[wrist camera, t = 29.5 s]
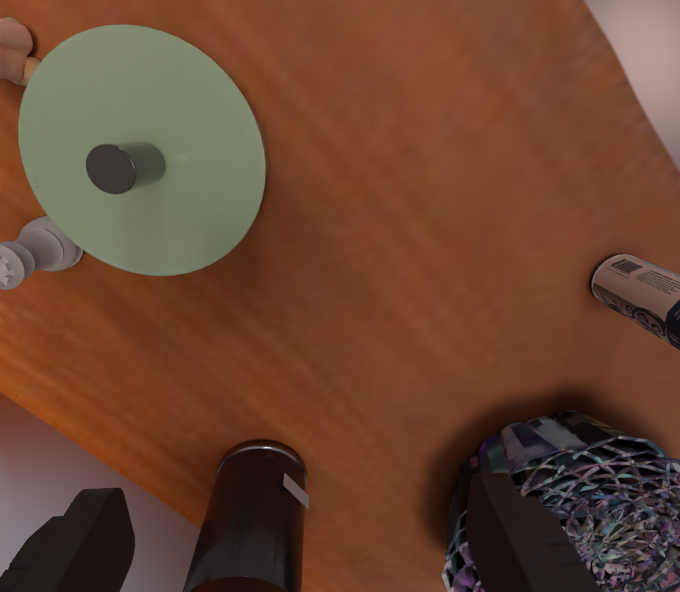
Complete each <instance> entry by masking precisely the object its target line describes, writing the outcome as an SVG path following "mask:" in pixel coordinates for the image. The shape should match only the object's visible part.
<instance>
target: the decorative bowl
mask: <svg viewBox="0 0 680 592" xmlns="http://www.w3.org/2000/svg"><path fill="white" fill-rule="evenodd" d="M502 472H506V473H508V474H509V475H510V477H511V478H512V480H513V482H514V483H515V485H516V487H517V489H518V491H519V492H520V494H521V496H522V497H525V496H535V497H536V498H537V499H538V500H539V501H540V502H541V503H542V504H543V505H545V506H546V507H547V508H548V509H549V510H550V511H551V512H552V513H553V514H554V515H555V516H556V517H557V519H558V521H559V522H560V524H561V525H562V527H563V529H564V530H565V532H566V534H567V535H568V537H569V540H570V543H573V545H574V547H575V548H576V550H577V551H578V553H579V555H580V556H581V560H582V562H583V563H585V564H586V566H587V568H588V569H589V571H590V573H591V574H592V576H593V577H594V579H595V581H596V582H597V584H598V586H599V587H600V589H601V590H602V592H680V459H674V458H672V457H669V456H667V455H666V453H665V451H664V450H662V449H661V448H660V447H658V446H657V445H656V444H654V443H653V442H652V441H650V440H649V439H640V438H635V437H633V436H631V435H629V434H626V433H624V432H622V431H620V430H618V429H615V428H613V427H611V426H609V425H607V424H604V423H602V422H600V421H598V420H596V419H593V418H591V417H589V416H587V415H585V414H582V413H580V412H578V411H573V410H565V411H562V412H560V413H557V414H555V415H554V416H553V417H552V418H548V417H546V416H545V417H539V418H535V419H532V420H529V421H527V422H526V423H523V422H512V423H510V424H508V425H506V426H505V427H503V428H501V430H500V432H499V435H493V436H492V437H490V438H488V439H486V440H484V442H483V444H482V446H481V448H480V450H479V453H478V454H475V455H471V456H468V457H467V458H466V459H465V460H464V461H463V462H462V464H461V471H460V478H459V480H457V482H456V485H455V487H454V490H453V493H452V503H451V506H450V510H449V518H448V535H447V551H446V554H445V555H446V565H445V567H444V570H443V572H442V578H443V580H444V583H445V586H446V589H447V591H448V592H484V589H483V587H482V584H481V581H480V578H479V575H478V573H477V570H476V567H475V564H474V562H473V559H472V556H471V553H470V550H469V547H468V542H467V537H466V527H465V522H466V513H467V506H468V499H469V491H470V484H471V478H472V475H473V474H479V473H502Z"/></svg>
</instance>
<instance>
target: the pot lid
mask: <svg viewBox="0 0 680 592" xmlns="http://www.w3.org/2000/svg"><path fill="white" fill-rule="evenodd" d="M18 140H19V148H20V154H21V160H22V163H23V167H24V170H25V173H26V176H27V179H28V181H29V184H30V186H31V188H32V191H33V193H34V194H35V196H36V198H37V200H38V201H39V203H40V205H41V207H42V208H43V209H44V211H45V212H46V214H47V215H48V216H49V218H50V219H51V220H52V221H53V223H54V224H55V225H56V226H57V227H58V228H59V229H60V230H61V232H62V233H64V234H65V235H66V236H67V237H68V238H69V239H70V240H71V241H72V242H73V243H75V244H76V245H77V246H79V247H80V248H81V249H83V250H84V251H86V252H87V253H88V254H90V255H92V256H94V257H95V258H97V259H99V260H101V261H103V262H105V263H107V264H109V265H112V266H114V267H116V268H119V269H122V270H126V271H129V272H133V273H138V274H143V275H153V276H172V275H180V274H185V273H190V272H193V271H196V270H199V269H202V268H204V267H206V266H209V265H211V264H213V263H215V262H216V261H218V260H219V259H221V258H222V257H224V256H225V255H227V254H228V253H229V252H230V251H231V250H232V249H234V248H235V247H236V246H237V244H238V243H239V242H240V241H241V240H242V239H243V238H244V236H245V235H246V233H247V232H248V230H249V229H250V227H251V226H252V224H253V222H254V220H255V218H256V216H257V214H258V212H259V209H260V206H261V202H262V199H263V195H264V189H265V183H266V158H265V149H264V145H263V140H262V135H261V132H260V129H259V126H258V123H257V121H256V118H255V116H254V114H253V112H252V110H251V108H250V105H249V103H248V102H247V100H246V99H245V97H244V95H243V94H242V92H241V91H240V89H239V88H238V86H237V85H236V84H235V83H234V81H233V80H232V79H231V78H230V77H229V75H228V74H227V73H226V72H225V71H224V70H223V69H222V68H221V67H220V66H219V65H218V64H217V63H216V62H215V61H214V60H212V59H211V58H210V57H208V56H207V55H206V54H204V53H203V52H202V51H200V50H199V49H198V48H196V47H194V46H193V45H191V44H189V43H187V42H186V41H184V40H182V39H180V38H178V37H176V36H173V35H171V34H168V33H166V32H164V31H160V30H156V29H153V28H149V27H144V26H136V25H107V26H101V27H96V28H92V29H89V30H86V31H83V32H80V33H78V34H76V35H74V36H72V37H70V38H69V39H67V40H65V41H63V42H62V43H61V44H59V45H58V46H57V47H55V48H54V49H53V50H52V51H50V52H49V54H48V55H47V56H46V57H45V58H44V59H43V60H42V61H41V62H40V64H39V65H38V67H37V68H36V70H35V71H34V73H33V74H32V76H31V78H30V80H29V82H28V85H27V87H26V89H25V92H24V95H23V98H22V102H21V106H20V112H19V121H18Z"/></svg>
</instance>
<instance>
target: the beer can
mask: <svg viewBox="0 0 680 592" xmlns="http://www.w3.org/2000/svg"><path fill="white" fill-rule="evenodd" d="M592 291H593V294H594V295H595V297H596V298H597V299H598V300H599V301H600V302H602V303H604V304H605V305H607V306H609V307H610V308H612V309H613V310H615V311H617V312H618V313H620V314H622V315H623V316H625V317H627V318H628V319H630V320H631V321H633V322H635V323H636V324H638V325H640V326H641V327H643V328H645V329H646V330H648V331H650V332H651V333H653V334H654V335H656V336H658V337H659V338H661V339H663V340H664V341H666V342H668V343H669V344H671V345H672V346H674V347H676V348H677V349H679V350H680V275H679V274H676V273H674V272H671V271H669V270H666V269H664V268H661V267H659V266H656V265H654V264H651V263H649V262H646V261H644V260H641V259H639V258H637V257H634V256H632V255H627V254H622V255H617V256H614V257H611V258H609V259H608V260H606V261H605V262H604V263H603V264H602V265H601V266H600V267H599V268H598V269H597V271H596V272H595V274H594V277H593V279H592Z"/></svg>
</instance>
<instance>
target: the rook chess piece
mask: <svg viewBox="0 0 680 592" xmlns="http://www.w3.org/2000/svg"><path fill="white" fill-rule="evenodd" d="M82 254H83V249H81V248H80V247H79V246H77V245H76V244H75V243H73V242H72V241H71V240H70V239H69V238H68V237H67V236H66V235H65V234H64V233H62V232H61V230H60V229H59V228H58V227H57V226H56V225H55V224H54V223H53V221H52V220H51V219H50V218H49V216H44V217H39V218H37V219H36V220H33V221H31V222H29V223H28V224H27V225H25V226H24V227H23V228H22V230H21V232H20V234H19V236H18V238H17V239H16V240H14V241H13V242H11V241H6V242H1V243H0V289H4V290H7V289H12V288H15V287H17V286H18V285H19V284H21V282H22V280H23V279H24V278H27V277H28V276H30V275H31V274H32V273H33V271H36V270H39V269H40V270H45V271H51V272H53V271H59V270H65V269H66V268H68V267H72V266H73V265H75V264H76V263H77V262H79V260H80V258H81V256H82Z"/></svg>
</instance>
